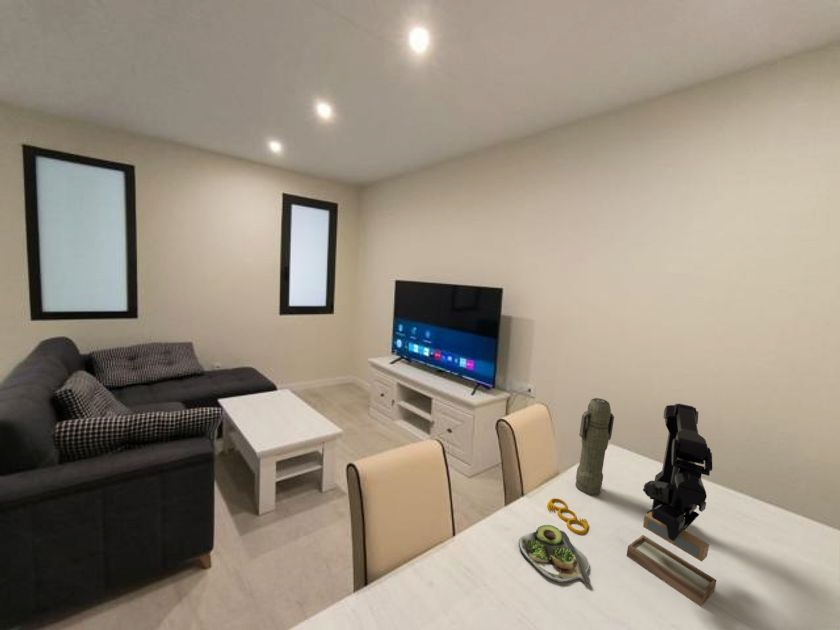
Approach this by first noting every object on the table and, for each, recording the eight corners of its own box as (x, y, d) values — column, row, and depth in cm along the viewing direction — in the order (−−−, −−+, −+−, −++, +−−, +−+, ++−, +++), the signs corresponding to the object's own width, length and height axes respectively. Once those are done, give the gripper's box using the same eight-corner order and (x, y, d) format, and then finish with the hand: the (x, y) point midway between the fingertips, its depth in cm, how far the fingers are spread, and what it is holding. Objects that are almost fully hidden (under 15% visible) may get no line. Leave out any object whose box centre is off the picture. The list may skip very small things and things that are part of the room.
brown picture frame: (641, 544, 108) (643, 534, 107) (714, 590, 93) (716, 580, 93) (626, 555, 103) (628, 545, 102) (701, 606, 88) (703, 595, 88)
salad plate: (610, 579, 94) (612, 563, 94) (560, 601, 87) (563, 584, 86) (555, 529, 112) (557, 516, 111) (510, 543, 104) (511, 529, 104)
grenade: (566, 482, 138) (578, 396, 134) (592, 480, 141) (605, 396, 137) (581, 496, 130) (595, 405, 125) (609, 494, 132) (623, 404, 128)
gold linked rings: (567, 536, 109) (596, 535, 111) (567, 532, 109) (597, 530, 111) (540, 502, 125) (566, 501, 127) (541, 498, 125) (567, 497, 127)
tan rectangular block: (648, 522, 104) (650, 511, 103) (706, 556, 92) (709, 544, 92) (642, 526, 102) (644, 515, 101) (701, 562, 90) (703, 549, 90)
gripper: (665, 461, 107) (657, 509, 108) (635, 477, 96) (626, 529, 98) (711, 480, 97) (701, 532, 99) (683, 500, 87) (672, 558, 89)
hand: (674, 537), depth 97 cm, fingers closed on tan rectangular block, 4 cm apart
